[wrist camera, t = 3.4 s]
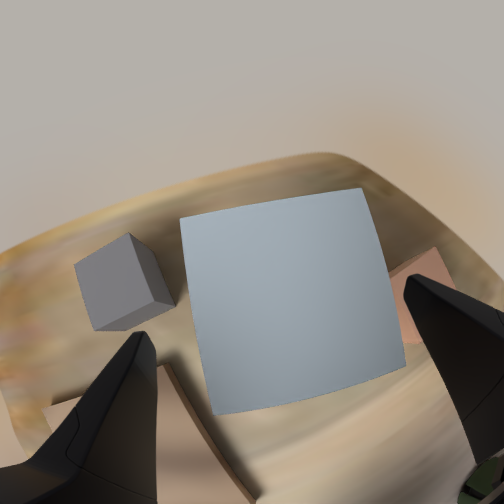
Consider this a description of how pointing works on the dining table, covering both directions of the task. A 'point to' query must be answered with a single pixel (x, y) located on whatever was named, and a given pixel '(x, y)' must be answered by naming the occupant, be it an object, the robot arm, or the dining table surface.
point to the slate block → (290, 300)
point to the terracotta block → (421, 264)
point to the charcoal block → (122, 285)
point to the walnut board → (180, 450)
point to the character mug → (480, 483)
